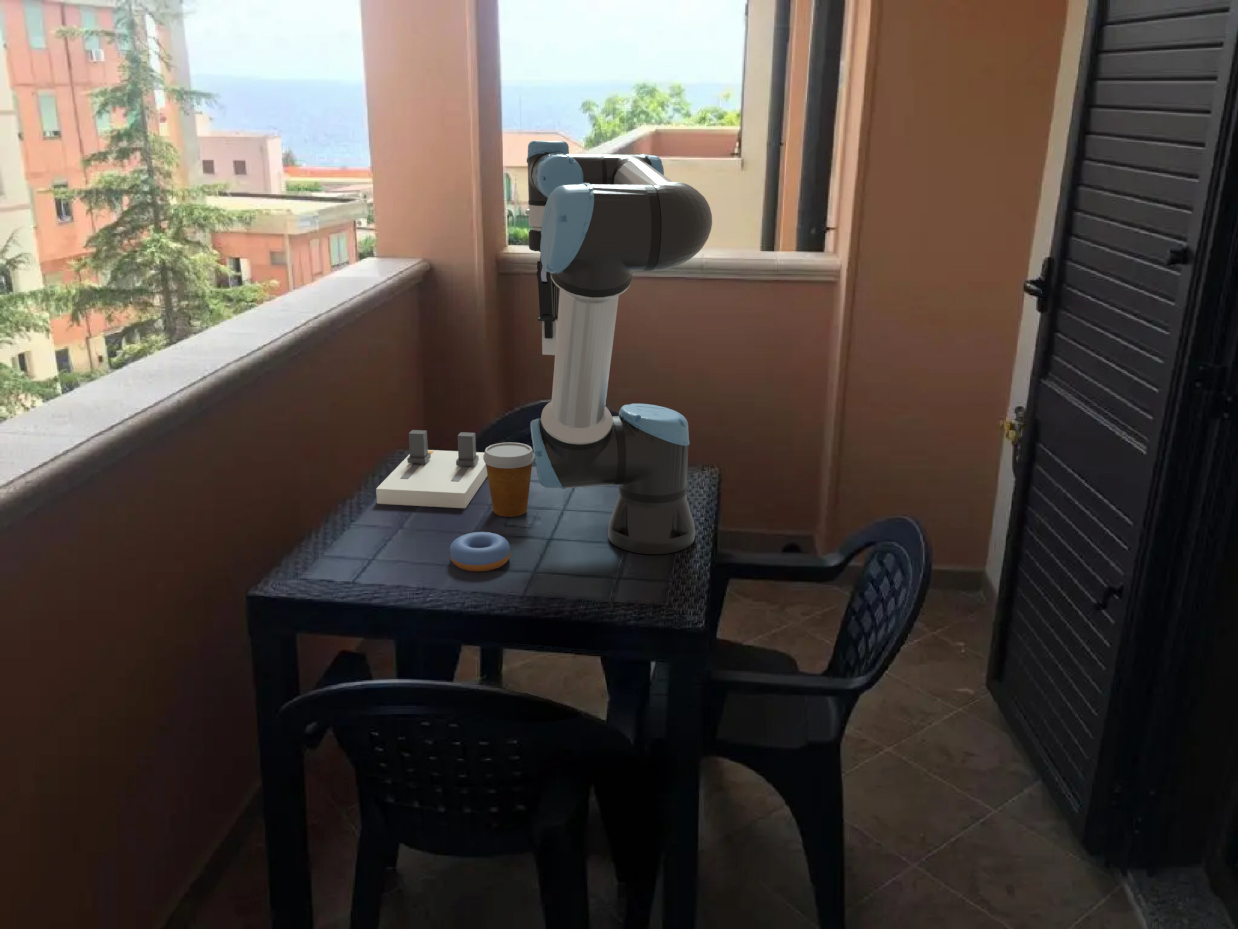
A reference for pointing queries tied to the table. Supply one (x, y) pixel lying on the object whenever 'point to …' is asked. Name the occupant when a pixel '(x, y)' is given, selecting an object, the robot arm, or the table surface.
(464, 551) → the doughnut
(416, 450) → the block
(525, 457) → the disposable coffee cup
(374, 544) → the table surface
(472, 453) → the block
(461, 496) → the panel
